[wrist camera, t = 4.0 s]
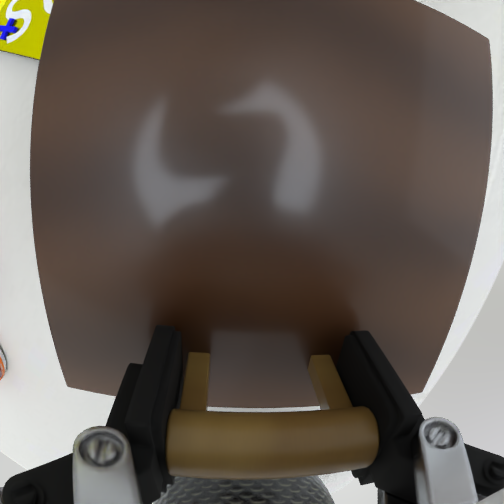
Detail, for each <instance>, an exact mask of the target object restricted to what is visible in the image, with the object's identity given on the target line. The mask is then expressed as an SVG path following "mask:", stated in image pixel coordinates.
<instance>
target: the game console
mask: <svg viewBox="0 0 504 504" xmlns="http://www.w3.org/2000/svg"><path fill="white" fill-rule="evenodd" d="M53 2H54V0H0V51H4V52H9V53H13V54H17V55H21V56H25V57H29V58H33V59H37V60H40V56H41V51H42V46H43V41H44V37H45V32H46V28H47V24H48V20H49V16H50V13H51V9H52V6H53Z"/></svg>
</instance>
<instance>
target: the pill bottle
mask: <svg viewBox="0 0 504 504" xmlns="http://www.w3.org/2000/svg"><path fill="white" fill-rule="evenodd" d="M5 373H6V361H5V357H4V355H3V353H2V350H1V349H0V380H1V379H2V377H3V376H4V375H5Z"/></svg>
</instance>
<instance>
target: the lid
mask: <svg viewBox="0 0 504 504" xmlns="http://www.w3.org/2000/svg"><path fill="white" fill-rule="evenodd" d="M492 115H493V90H492V67H491V54H490V44H489V39H488V38H486V37H484V36H483V35H481V34H479V33H478V32H476V31H474V30H473V29H471V28H469V27H467V26H466V25H464V24H462V23H460V22H458V21H456V20H455V19H453V18H451V17H449V16H447V15H445V14H443V13H441V12H439V11H437V10H435V9H432V8H430V7H428V6H426V5H424V4H421V3H419V2H417V1H414V0H54V2H53V6H52V9H51V13H50V16H49V20H48V24H47V28H46V32H45V37H44V41H43V46H42V51H41V56H40V61H39V67H38V73H37V80H36V87H35V95H34V104H33V114H32V128H31V149H30V187H31V209H32V222H33V233H34V243H35V251H36V258H37V265H38V272H39V278H40V284H41V289H42V294H43V299H44V304H45V309H46V314H47V318H48V322H49V326H50V330H51V334H52V338H53V342H54V345H55V349H56V353H57V356H58V359H59V363H60V366H61V369H62V372H63V375H64V378H65V381H66V384H67V386H68V387H71V388H76V389H80V390H85V391H90V392H95V393H100V394H106V395H111V396H117V393H118V390H119V388H120V385H121V382H122V380H123V377H124V374H125V372H126V369H127V367H128V365H129V364H130V363H136V364H143V362H144V359H145V356H146V353H147V350H148V347H149V345H150V342H151V339H152V336H153V333H154V330H155V328H156V326H157V325H166V326H174V327H175V331H181V336H182V359H183V377H184V383H183V389H182V395H181V402H180V408H179V409H172V410H171V412H170V414H169V417H168V421H167V428H166V439H165V459H166V466H167V470H168V473H169V474H170V475H172V476H179V477H190V478H204V479H229V480H256V479H280V478H295V477H306V476H315V475H323V474H331V473H337V472H344V471H350V470H356V469H361V468H366V467H368V466H370V465H371V464H372V463H373V462H374V460H375V458H376V456H377V453H378V449H379V429H378V424H377V421H376V418H375V416H374V414H373V412H372V411H371V410H370V409H369V408H367V407H364V406H358V407H353V406H352V403H351V401H350V399H349V397H348V394H347V392H346V390H345V388H344V385H343V383H342V381H341V379H340V376H339V374H338V372H337V370H336V365H337V362H338V358H339V355H340V352H341V348H342V345H343V341H344V338H345V336H347V335H349V334H350V332H351V331H366V330H367V331H369V332H370V333H371V335H372V336H373V338H374V339H375V341H376V342H377V344H378V345H379V347H380V348H381V350H382V351H383V353H384V354H385V356H386V357H387V359H388V361H389V362H390V364H391V365H392V367H393V368H394V370H395V371H396V373H397V374H398V376H399V378H400V379H401V381H402V382H403V384H404V385H405V387H406V389H407V390H408V392H409V393H410V395H411V394H416V393H421V392H422V391H423V389H424V387H425V385H426V383H427V381H428V379H429V377H430V375H431V373H432V370H433V368H434V366H435V364H436V361H437V359H438V357H439V355H440V352H441V350H442V347H443V345H444V343H445V340H446V338H447V335H448V332H449V330H450V327H451V324H452V322H453V319H454V316H455V313H456V311H457V308H458V305H459V302H460V299H461V296H462V292H463V289H464V286H465V283H466V279H467V276H468V272H469V269H470V265H471V261H472V258H473V254H474V250H475V245H476V241H477V237H478V232H479V227H480V222H481V217H482V212H483V206H484V201H485V194H486V187H487V180H488V172H489V163H490V152H491V139H492ZM208 406H209V407H232V408H285V407H308V406H320V409H321V410H315V411H297V412H217V411H207V407H208Z"/></svg>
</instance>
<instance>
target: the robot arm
mask: <svg viewBox="0 0 504 504" xmlns="http://www.w3.org/2000/svg"><path fill="white" fill-rule="evenodd" d="M336 370H337V372H338V374H339V376H340V379H341V381H342V383H343V385H344V388H345V390H346V392H347V394H348V397H349V399H350V401H351V403H352V406H353V407H358V406H364V407H367V408H369V409H370V410H371V411H372V412H373V414H374V416H375V418H376V421H377V424H378V429H379V449H378V453H377V456H376V458H375V460H374V462H373V463H372V464H371V465H370V466H368V467H366V468H361V469H356V470H351V471H352V474H353V476H354V477H355V478H358V479H359V482H360V485H364V484H369V483H373V482H374V483H375V486H376V487H377V488H378V504H504V458H503V457H501V456H499V455H496V454H493V453H490V452H487V451H484V450H481V449H478V448H475V447H473V446H470V445H467V444H465V443H464V442H463V439H462V436H461V433H460V431H459V429H458V427H457V426H456V425H455V424H454V423H452V422H451V421H449V420H447V419H445V418H441V417H433V418H429V419H426V420H425V419H424V418H423V416H422V413H421V411H420V409H419V408H418V406H417V405H416V403H415V401H414V400H413V398H412V396H411V395H410V393H409V392H408V390H407V389H406V387H405V385H404V384H403V382H402V381H401V379H400V378H399V376H398V374H397V373H396V371H395V370H394V368H393V367H392V365H391V364H390V362H389V361H388V359H387V357H386V356H385V354H384V353H383V351H382V350H381V348H380V347H379V345H378V344H377V342H376V341H375V339H374V338H373V336H372V335H371V333H370V332H369V331H367V330H366V331H351V332H350V334H349V335H347V336H345V338H344V341H343V345H342V348H341V352H340V355H339V358H338V362H337V365H336ZM183 383H184V377H183V359H182V336H181V331H175V327H174V326H166V325H157V326H156V328H155V330H154V333H153V336H152V339H151V342H150V345H149V347H148V350H147V353H146V356H145V359H144V362H143V364H136V363H130V364H129V365H128V367H127V369H126V372H125V374H124V377H123V380H122V382H121V385H120V388H119V390H118V393H117V396H116V398H115V401H114V404H113V407H112V409H111V412H110V415H109V418H108V421H107V424H106V426H96V427H91V428H89V429H86V430H84V431H83V432H82V433H80V434H79V435H78V436H77V438H76V439H75V441H74V445H73V453H71V454H69V455H66V456H64V457H62V458H59V459H57V460H54V461H52V462H49V463H47V464H44V465H41V466H39V467H36V468H33V469H31V470H28V471H26V472H23V473H20V474H17V475H15V476H13V477H11V478H10V479H9V480H8V481H7V482H6V483H5V486H4V487H1V488H0V504H152V503H153V502H154V501H156V500H158V499H160V498H161V492H162V493H167V484H169V485H174V481H175V476H172V475H170V474H169V473H168V470H167V466H166V459H165V439H166V428H167V421H168V417H169V414H170V412H171V410H172V409H179V408H180V402H181V395H182V389H183Z"/></svg>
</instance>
